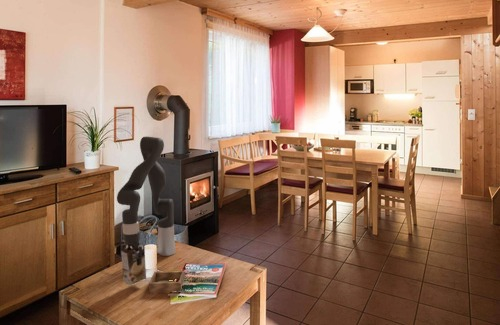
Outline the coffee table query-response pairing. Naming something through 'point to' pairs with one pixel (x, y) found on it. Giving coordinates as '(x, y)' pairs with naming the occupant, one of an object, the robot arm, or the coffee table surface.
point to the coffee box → (132, 267)
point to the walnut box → (166, 281)
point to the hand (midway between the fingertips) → (133, 263)
